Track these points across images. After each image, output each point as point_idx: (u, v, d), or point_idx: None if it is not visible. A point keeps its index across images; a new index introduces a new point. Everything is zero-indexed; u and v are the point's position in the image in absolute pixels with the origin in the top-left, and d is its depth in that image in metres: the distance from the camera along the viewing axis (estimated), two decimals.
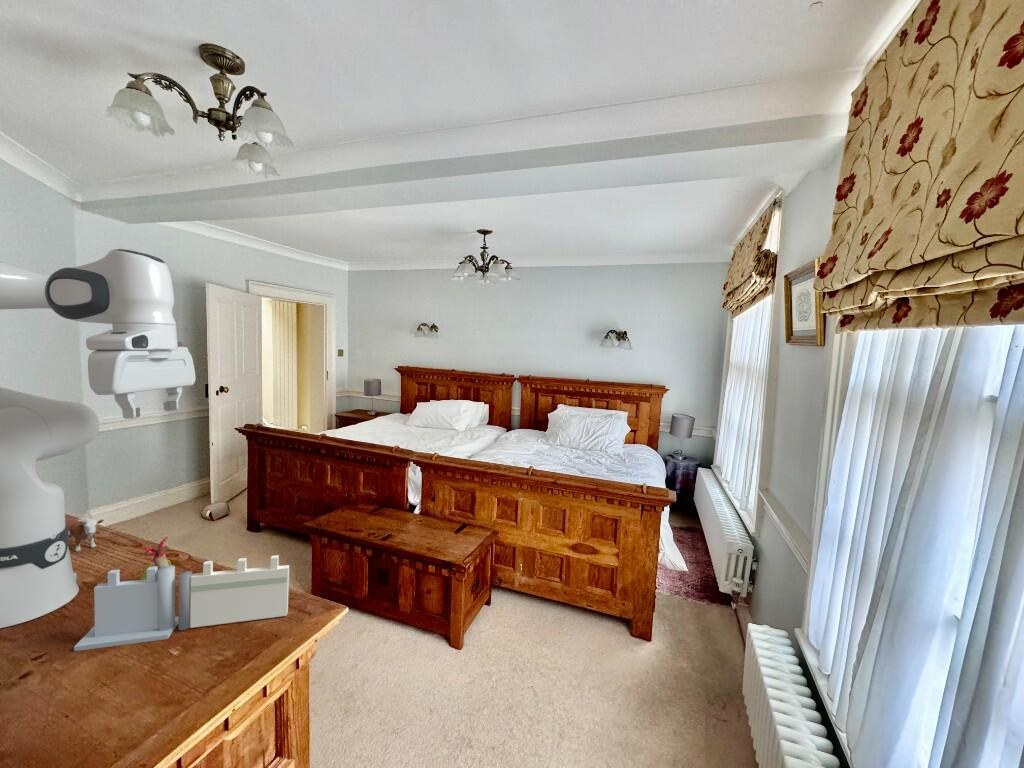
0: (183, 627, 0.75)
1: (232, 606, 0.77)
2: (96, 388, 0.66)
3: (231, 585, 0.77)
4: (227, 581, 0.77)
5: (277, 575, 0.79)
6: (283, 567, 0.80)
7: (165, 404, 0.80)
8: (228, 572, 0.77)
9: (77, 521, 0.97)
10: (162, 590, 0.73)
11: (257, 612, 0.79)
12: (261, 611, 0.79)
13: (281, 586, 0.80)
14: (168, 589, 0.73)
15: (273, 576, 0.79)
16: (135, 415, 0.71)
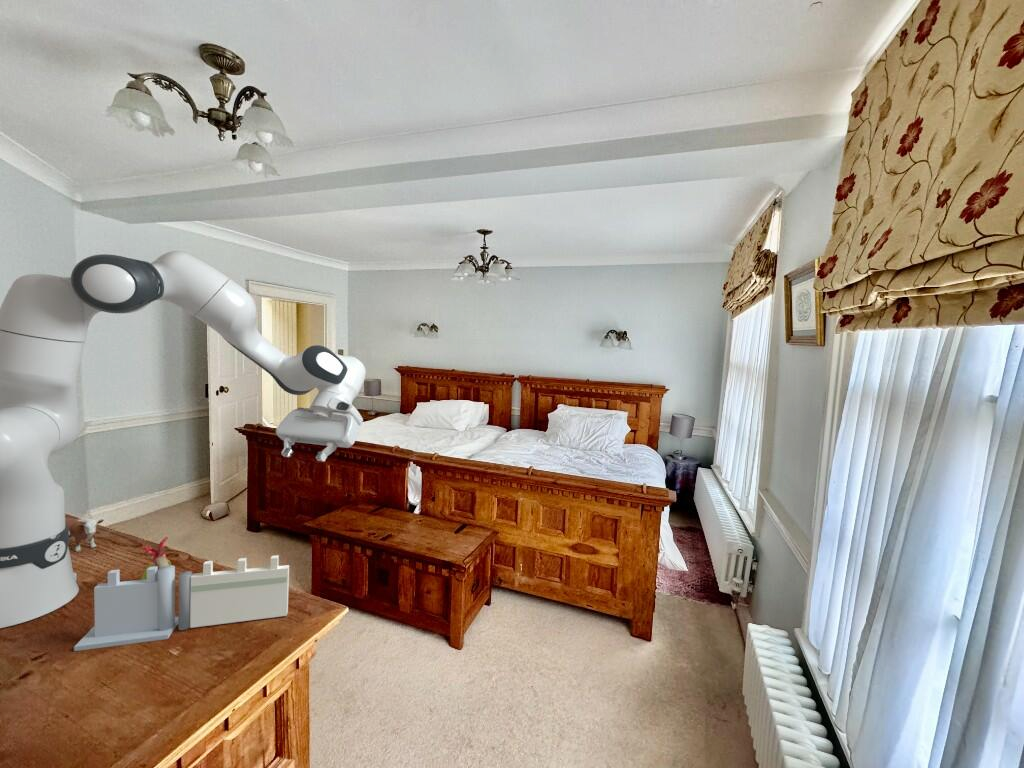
0: (183, 627, 0.75)
1: (232, 606, 0.77)
2: (349, 439, 0.96)
3: (231, 585, 0.77)
4: (227, 581, 0.77)
5: (277, 575, 0.79)
6: (283, 567, 0.80)
7: (289, 450, 0.97)
8: (228, 572, 0.77)
9: (77, 521, 0.97)
10: (162, 590, 0.73)
11: (257, 612, 0.79)
12: (261, 611, 0.79)
13: (281, 586, 0.80)
14: (168, 589, 0.73)
15: (273, 576, 0.79)
16: None
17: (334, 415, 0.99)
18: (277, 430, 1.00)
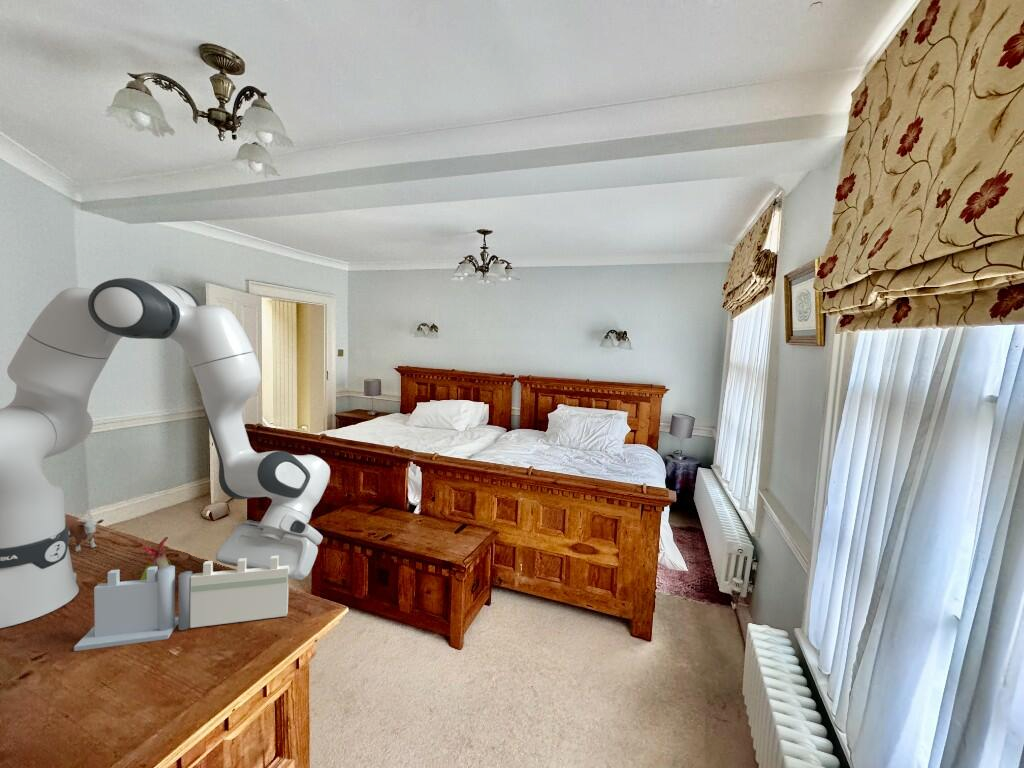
0: (183, 627, 0.75)
1: (232, 606, 0.77)
2: (302, 571, 0.81)
3: (231, 585, 0.77)
4: (227, 581, 0.77)
5: (277, 575, 0.79)
6: (283, 567, 0.80)
7: None
8: (228, 572, 0.77)
9: (77, 521, 0.97)
10: (162, 590, 0.73)
11: (257, 612, 0.79)
12: (261, 611, 0.79)
13: (281, 586, 0.80)
14: (168, 589, 0.73)
15: (273, 576, 0.79)
16: None
17: (287, 539, 0.84)
18: (217, 554, 0.84)
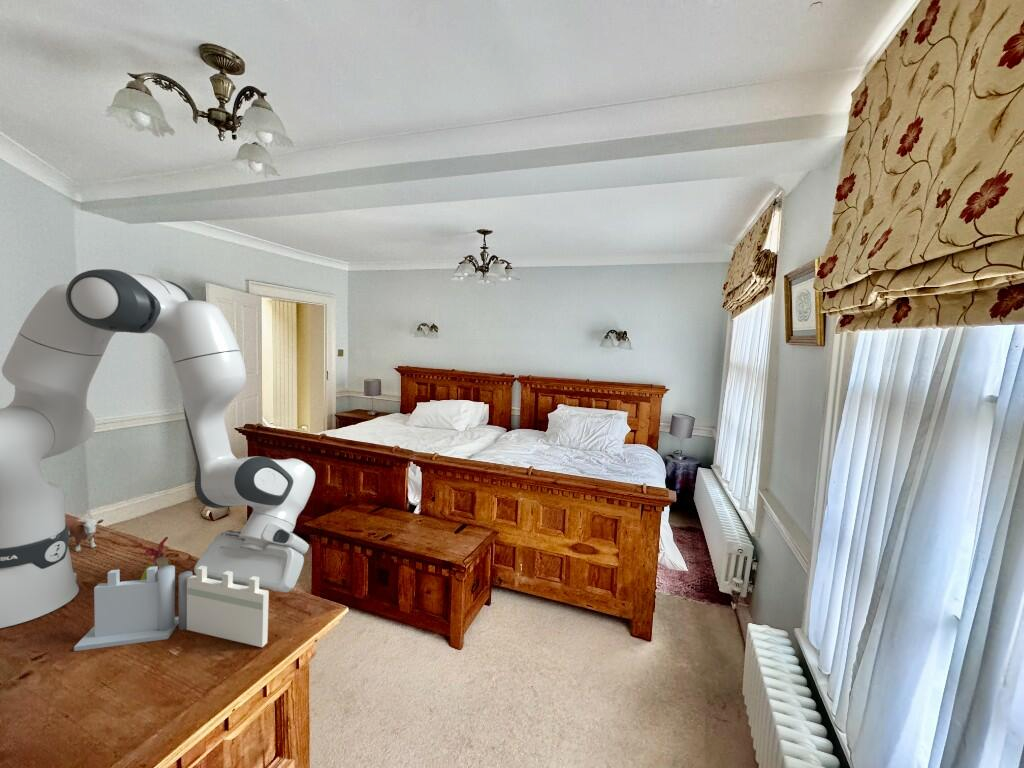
0: (180, 627, 0.75)
1: (217, 620, 0.74)
2: (288, 584, 0.77)
3: (217, 597, 0.73)
4: (213, 592, 0.73)
5: (254, 599, 0.72)
6: (261, 592, 0.72)
7: None
8: (216, 583, 0.74)
9: (77, 521, 0.97)
10: (162, 590, 0.73)
11: (237, 634, 0.73)
12: (240, 634, 0.73)
13: (257, 613, 0.72)
14: (168, 589, 0.73)
15: (250, 599, 0.72)
16: None
17: (270, 549, 0.79)
18: None
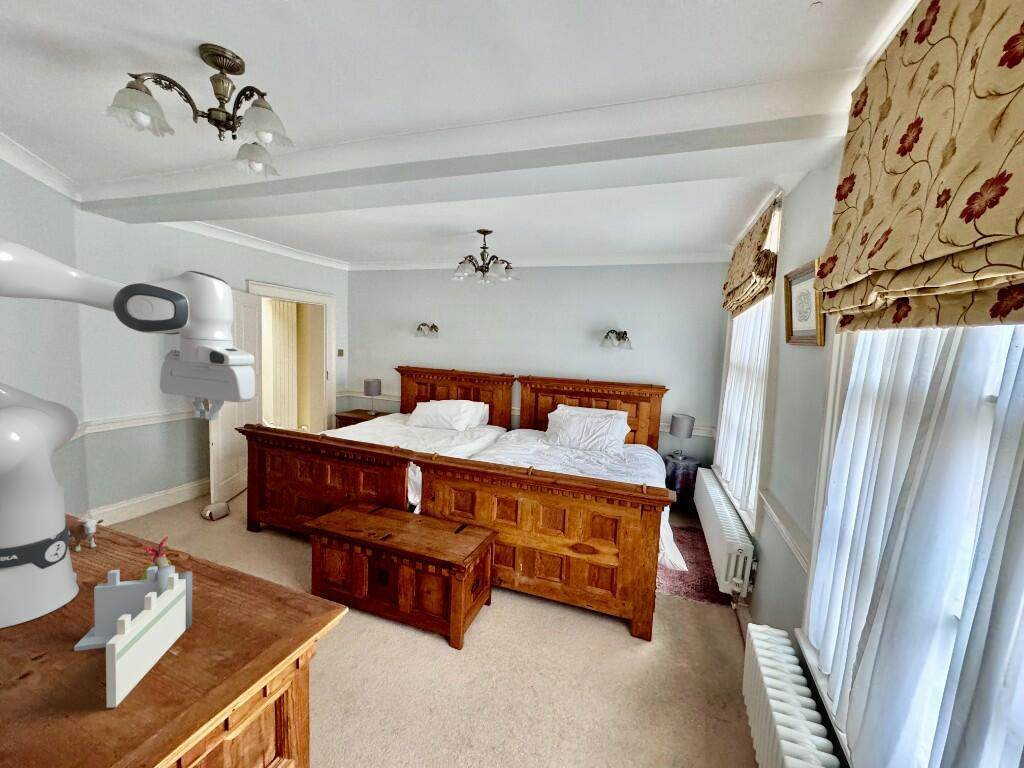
0: None
1: None
2: (244, 396, 0.82)
3: None
4: None
5: None
6: (114, 639, 0.59)
7: (201, 412, 0.84)
8: (158, 599, 0.68)
9: (77, 521, 0.97)
10: (162, 590, 0.73)
11: None
12: None
13: None
14: None
15: None
16: None
17: (214, 369, 0.81)
18: (161, 389, 0.84)
